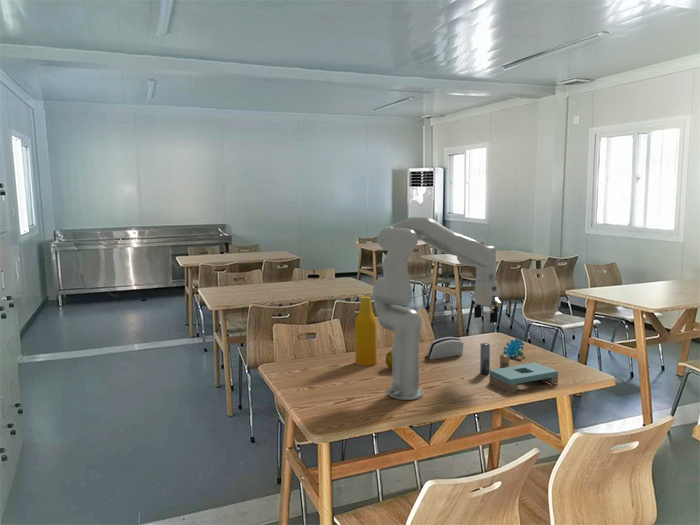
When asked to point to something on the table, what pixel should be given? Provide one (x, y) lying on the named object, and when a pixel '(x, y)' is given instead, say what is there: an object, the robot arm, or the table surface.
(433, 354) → the napkin holder
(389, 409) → the table surface
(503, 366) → the short pin
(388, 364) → the fruit
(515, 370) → the hole bridge
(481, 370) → the tall pin
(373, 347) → the beer bottle
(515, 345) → the gear
